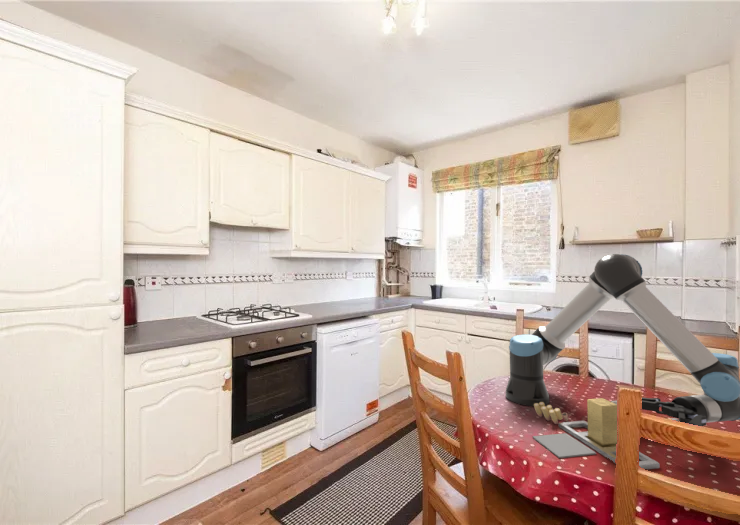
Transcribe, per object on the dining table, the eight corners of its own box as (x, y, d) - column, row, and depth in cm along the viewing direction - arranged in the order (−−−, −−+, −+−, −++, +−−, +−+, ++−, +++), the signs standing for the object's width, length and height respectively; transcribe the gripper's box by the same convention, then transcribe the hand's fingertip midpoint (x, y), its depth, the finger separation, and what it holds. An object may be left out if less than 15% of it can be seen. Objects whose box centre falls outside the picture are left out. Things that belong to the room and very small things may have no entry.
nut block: (588, 441, 97) (587, 399, 97) (603, 439, 98) (602, 398, 98) (602, 450, 92) (601, 406, 92) (618, 448, 93) (617, 404, 93)
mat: (532, 437, 99) (532, 436, 99) (566, 434, 101) (566, 433, 101) (559, 458, 88) (559, 456, 88) (596, 454, 90) (596, 452, 90)
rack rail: (558, 426, 106) (558, 422, 106) (583, 424, 107) (583, 420, 108) (628, 471, 82) (628, 466, 82) (659, 467, 84) (659, 463, 84)
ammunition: (552, 411, 107) (569, 407, 110) (532, 403, 113) (549, 399, 117) (552, 426, 106) (569, 422, 110) (532, 417, 113) (549, 413, 116)
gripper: (748, 443, 88) (679, 451, 84) (653, 405, 112) (597, 410, 109) (747, 414, 88) (678, 420, 84) (652, 383, 112) (596, 387, 109)
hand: (632, 415), depth 97 cm, fingers open, 13 cm apart
